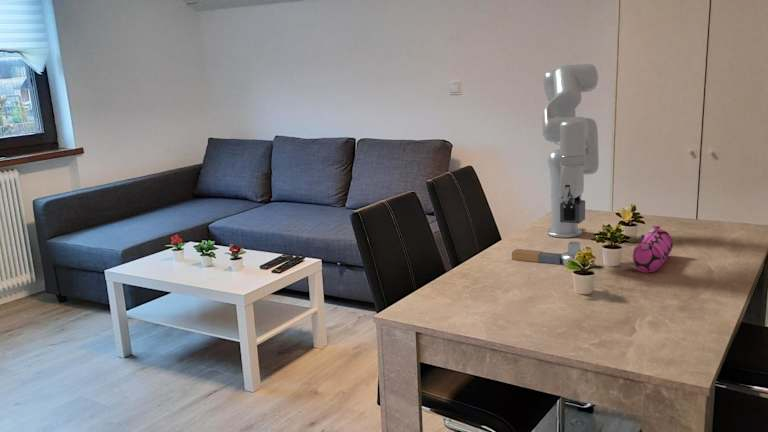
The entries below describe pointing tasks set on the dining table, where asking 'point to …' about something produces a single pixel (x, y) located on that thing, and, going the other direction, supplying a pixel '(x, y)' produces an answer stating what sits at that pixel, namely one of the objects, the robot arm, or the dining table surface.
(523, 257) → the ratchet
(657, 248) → the pencil case
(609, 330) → the dining table surface
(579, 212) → the dark slate cube
